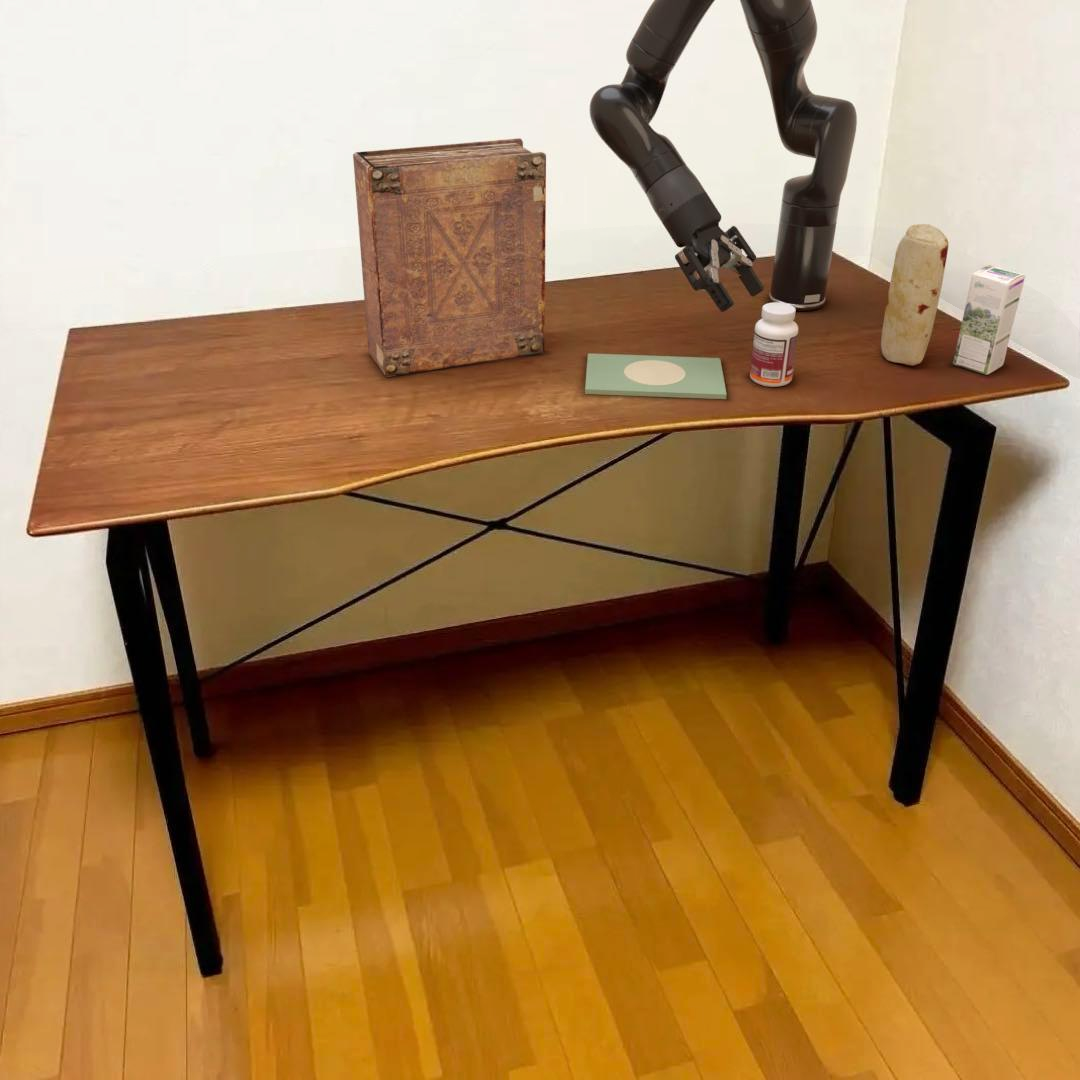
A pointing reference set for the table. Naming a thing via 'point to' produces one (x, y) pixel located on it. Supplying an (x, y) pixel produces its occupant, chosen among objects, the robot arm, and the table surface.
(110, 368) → the table surface
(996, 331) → the syrup box
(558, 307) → the table surface
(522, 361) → the table surface
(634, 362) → the mat
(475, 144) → the book
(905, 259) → the food model
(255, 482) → the table surface
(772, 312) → the pill bottle
